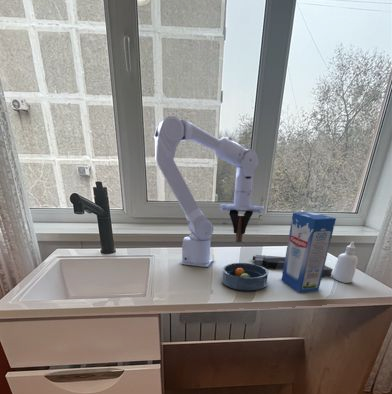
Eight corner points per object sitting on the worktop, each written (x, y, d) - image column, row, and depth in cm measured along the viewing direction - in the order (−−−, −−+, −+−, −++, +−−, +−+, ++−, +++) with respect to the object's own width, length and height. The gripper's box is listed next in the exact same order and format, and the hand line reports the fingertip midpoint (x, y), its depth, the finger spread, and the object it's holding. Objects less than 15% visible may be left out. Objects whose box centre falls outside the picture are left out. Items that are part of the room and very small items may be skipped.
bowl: (217, 288, 82) (218, 274, 80) (226, 273, 93) (227, 261, 91) (264, 294, 79) (266, 280, 77) (267, 278, 90) (269, 265, 88)
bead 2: (251, 273, 85) (246, 282, 86) (241, 270, 84) (237, 279, 86) (252, 277, 82) (247, 286, 83) (243, 274, 81) (238, 283, 83)
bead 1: (242, 280, 88) (233, 278, 88) (242, 274, 90) (233, 272, 90) (245, 272, 86) (236, 270, 86) (245, 267, 88) (236, 265, 88)
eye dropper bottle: (344, 277, 92) (354, 239, 87) (353, 283, 88) (365, 244, 82) (330, 276, 92) (340, 239, 86) (339, 283, 87) (350, 244, 82)
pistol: (334, 272, 89) (325, 258, 102) (252, 265, 93) (253, 253, 106) (333, 279, 90) (324, 264, 103) (251, 272, 94) (252, 258, 107)
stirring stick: (234, 241, 102) (236, 215, 97) (235, 240, 104) (238, 214, 99) (241, 242, 101) (244, 215, 97) (242, 240, 103) (244, 214, 99)
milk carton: (281, 280, 89) (292, 212, 79) (298, 278, 90) (312, 212, 81) (299, 292, 81) (315, 219, 71) (318, 290, 82) (336, 218, 72)
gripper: (266, 191, 96) (261, 232, 103) (224, 189, 99) (221, 229, 106) (264, 193, 90) (259, 236, 97) (219, 191, 93) (217, 233, 100)
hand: (239, 233), depth 101 cm, fingers closed on stirring stick, 2 cm apart
